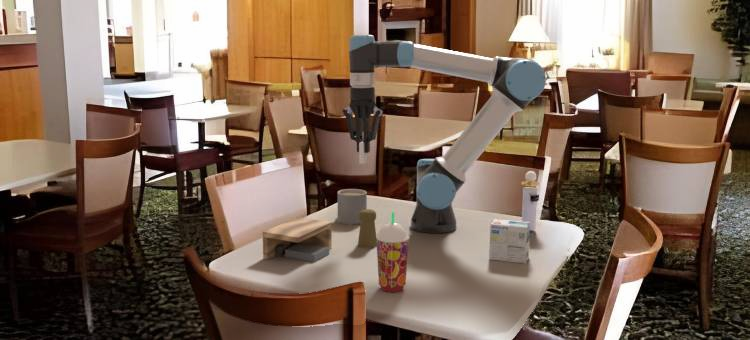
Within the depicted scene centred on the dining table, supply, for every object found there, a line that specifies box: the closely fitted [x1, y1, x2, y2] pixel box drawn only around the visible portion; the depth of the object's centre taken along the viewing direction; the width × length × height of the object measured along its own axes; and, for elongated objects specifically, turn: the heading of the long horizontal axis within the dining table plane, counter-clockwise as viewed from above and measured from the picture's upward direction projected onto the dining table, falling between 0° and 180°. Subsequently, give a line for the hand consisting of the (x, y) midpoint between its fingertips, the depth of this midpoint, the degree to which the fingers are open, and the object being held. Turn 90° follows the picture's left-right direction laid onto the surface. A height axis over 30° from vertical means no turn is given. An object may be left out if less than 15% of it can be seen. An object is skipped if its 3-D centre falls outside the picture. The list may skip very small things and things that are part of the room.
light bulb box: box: [488, 218, 531, 264], centre depth 207 cm, size 11×7×11 cm, turn 71°
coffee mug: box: [337, 188, 368, 225], centre depth 249 cm, size 13×10×10 cm
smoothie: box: [376, 211, 410, 293], centre depth 182 cm, size 8×8×20 cm
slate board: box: [284, 243, 330, 262], centre depth 210 cm, size 10×8×2 cm
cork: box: [357, 208, 377, 249], centre depth 219 cm, size 6×6×11 cm
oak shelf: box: [262, 216, 333, 260], centre depth 211 cm, size 12×18×8 cm, turn 153°
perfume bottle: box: [521, 170, 541, 232], centre depth 235 cm, size 6×6×20 cm
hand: (363, 162), depth 223 cm, fingers closed
